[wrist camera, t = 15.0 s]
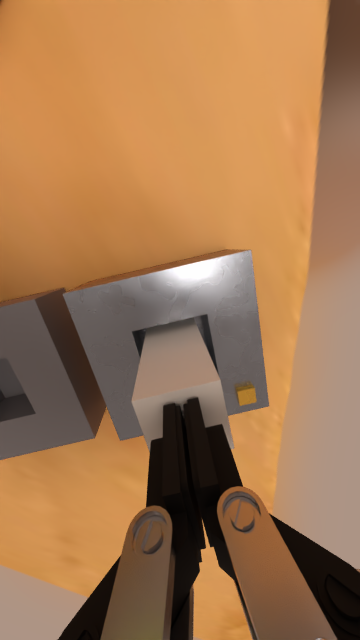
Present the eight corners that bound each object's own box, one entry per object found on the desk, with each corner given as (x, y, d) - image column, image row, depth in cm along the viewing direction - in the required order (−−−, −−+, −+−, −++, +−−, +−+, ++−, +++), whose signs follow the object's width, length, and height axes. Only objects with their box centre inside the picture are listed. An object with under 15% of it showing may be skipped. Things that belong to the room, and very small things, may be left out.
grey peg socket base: (-73, 319, 21) (-143, 340, 16) (63, 287, 21) (34, 299, 16) (-7, 428, 25) (-47, 470, 20) (108, 401, 25) (95, 437, 20)
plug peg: (148, 319, 21) (131, 401, 10) (189, 309, 21) (220, 379, 10) (159, 356, 22) (155, 467, 11) (198, 346, 22) (234, 448, 11)
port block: (90, 281, 21) (59, 295, 15) (227, 249, 21) (253, 249, 15) (130, 396, 25) (119, 445, 19) (244, 369, 25) (271, 410, 19)
